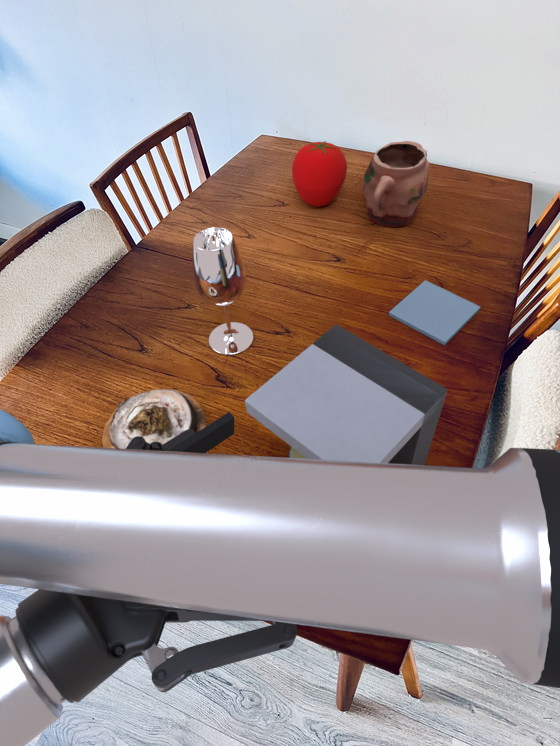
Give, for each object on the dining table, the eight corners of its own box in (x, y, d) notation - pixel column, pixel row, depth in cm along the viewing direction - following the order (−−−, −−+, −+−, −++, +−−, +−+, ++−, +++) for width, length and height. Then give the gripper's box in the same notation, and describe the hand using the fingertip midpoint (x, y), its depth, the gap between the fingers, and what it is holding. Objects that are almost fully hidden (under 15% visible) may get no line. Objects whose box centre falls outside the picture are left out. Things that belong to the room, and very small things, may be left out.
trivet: (479, 310, 88) (480, 306, 88) (444, 345, 84) (445, 342, 83) (424, 283, 94) (425, 279, 93) (388, 315, 89) (388, 312, 88)
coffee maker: (415, 495, 67) (447, 389, 50) (346, 577, 61) (358, 486, 44) (331, 435, 74) (335, 323, 57) (262, 503, 67) (244, 400, 51)
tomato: (286, 212, 111) (283, 154, 101) (300, 186, 118) (298, 129, 108) (338, 218, 108) (340, 159, 99) (349, 191, 115) (352, 133, 105)
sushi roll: (208, 387, 81) (204, 369, 77) (201, 472, 71) (196, 456, 68) (114, 392, 81) (106, 375, 78) (94, 477, 71) (84, 462, 68)
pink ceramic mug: (405, 254, 99) (416, 187, 89) (345, 240, 103) (348, 175, 93) (431, 200, 111) (443, 135, 100) (376, 190, 115) (382, 126, 104)
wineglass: (263, 336, 87) (252, 234, 72) (231, 363, 84) (212, 263, 68) (230, 316, 91) (213, 216, 76) (198, 342, 87) (173, 242, 72)
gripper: (-17, 537, 42) (196, 406, 52) (150, 845, 32) (380, 607, 41) (-56, 496, 37) (192, 358, 46) (132, 856, 26) (405, 576, 36)
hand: (281, 475), depth 44 cm, fingers open, 13 cm apart
